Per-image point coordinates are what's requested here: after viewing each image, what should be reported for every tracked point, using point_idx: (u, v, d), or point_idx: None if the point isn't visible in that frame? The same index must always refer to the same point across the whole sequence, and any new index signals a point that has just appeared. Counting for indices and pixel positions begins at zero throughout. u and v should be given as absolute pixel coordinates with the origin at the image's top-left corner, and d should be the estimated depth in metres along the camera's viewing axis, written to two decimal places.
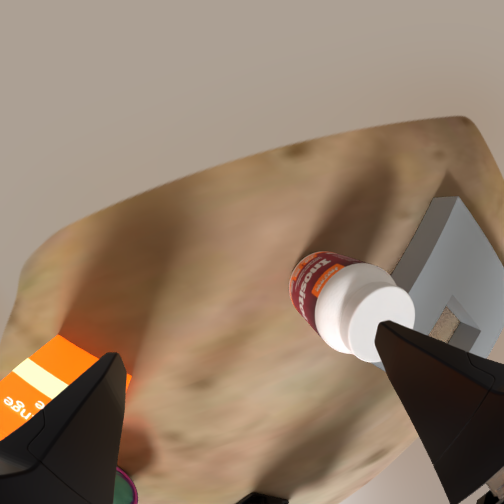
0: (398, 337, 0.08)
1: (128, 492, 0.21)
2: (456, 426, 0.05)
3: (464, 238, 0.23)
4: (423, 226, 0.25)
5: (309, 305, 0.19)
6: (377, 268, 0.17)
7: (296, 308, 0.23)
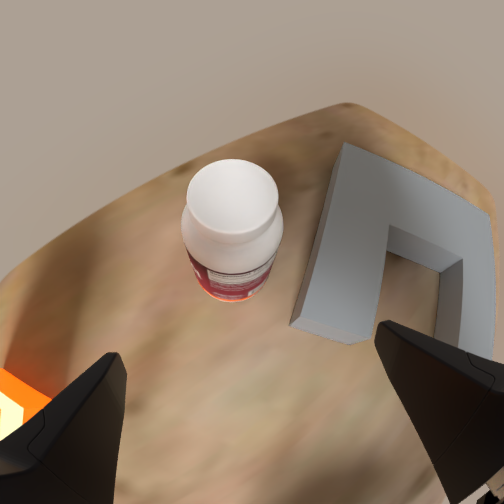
0: (398, 337, 0.08)
1: None
2: (456, 426, 0.05)
3: (372, 171, 0.25)
4: (329, 187, 0.27)
5: None
6: None
7: (203, 287, 0.22)
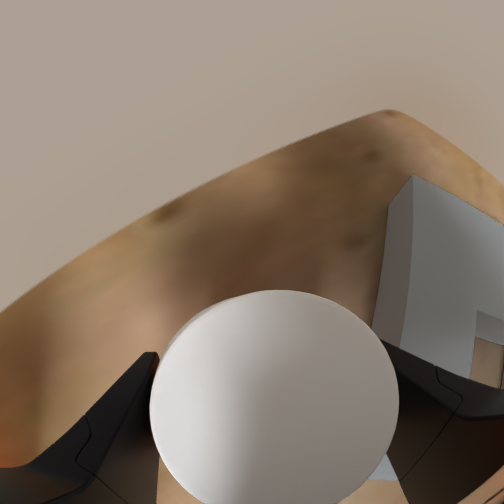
0: None
1: None
2: (421, 445, 0.05)
3: (453, 224, 0.15)
4: (389, 243, 0.18)
5: None
6: None
7: None
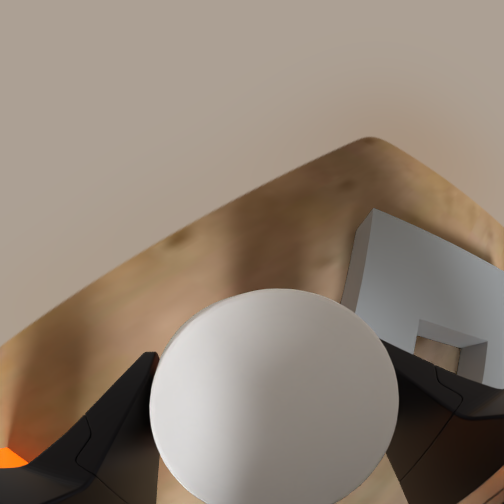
0: None
1: None
2: (421, 445, 0.05)
3: (405, 249, 0.21)
4: (352, 263, 0.23)
5: None
6: None
7: None
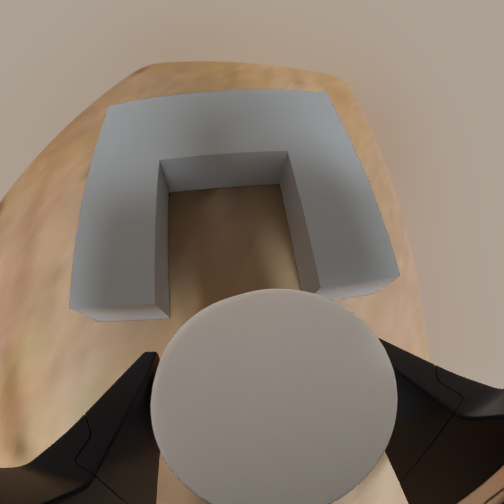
0: None
1: None
2: (421, 445, 0.05)
3: (139, 117, 0.20)
4: None
5: None
6: None
7: None
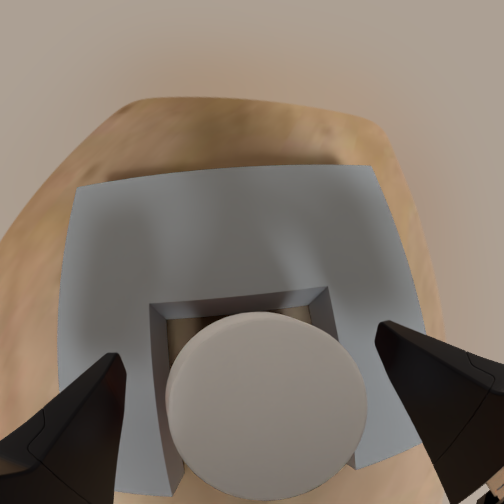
0: (398, 337, 0.08)
1: None
2: (456, 426, 0.05)
3: (116, 215, 0.15)
4: None
5: None
6: (258, 313, 0.09)
7: None
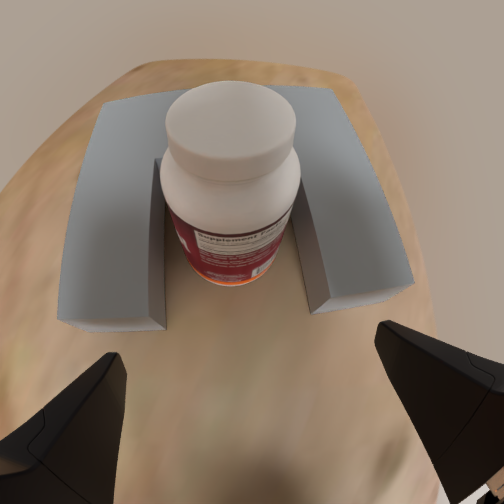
0: (398, 337, 0.08)
1: None
2: (456, 426, 0.05)
3: (134, 114, 0.19)
4: None
5: None
6: None
7: (194, 266, 0.17)
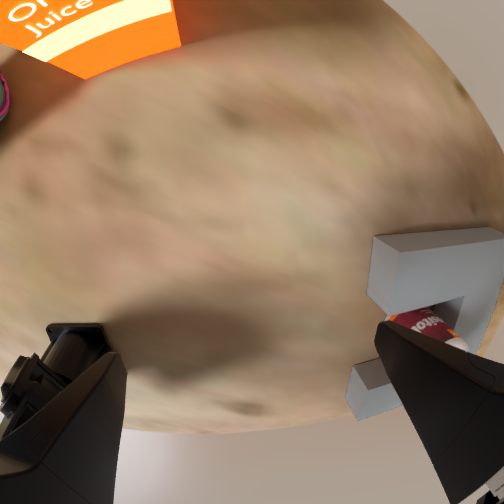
0: (398, 337, 0.08)
1: None
2: (456, 426, 0.05)
3: (496, 268, 0.22)
4: (477, 230, 0.23)
5: (440, 332, 0.20)
6: None
7: (400, 316, 0.24)
